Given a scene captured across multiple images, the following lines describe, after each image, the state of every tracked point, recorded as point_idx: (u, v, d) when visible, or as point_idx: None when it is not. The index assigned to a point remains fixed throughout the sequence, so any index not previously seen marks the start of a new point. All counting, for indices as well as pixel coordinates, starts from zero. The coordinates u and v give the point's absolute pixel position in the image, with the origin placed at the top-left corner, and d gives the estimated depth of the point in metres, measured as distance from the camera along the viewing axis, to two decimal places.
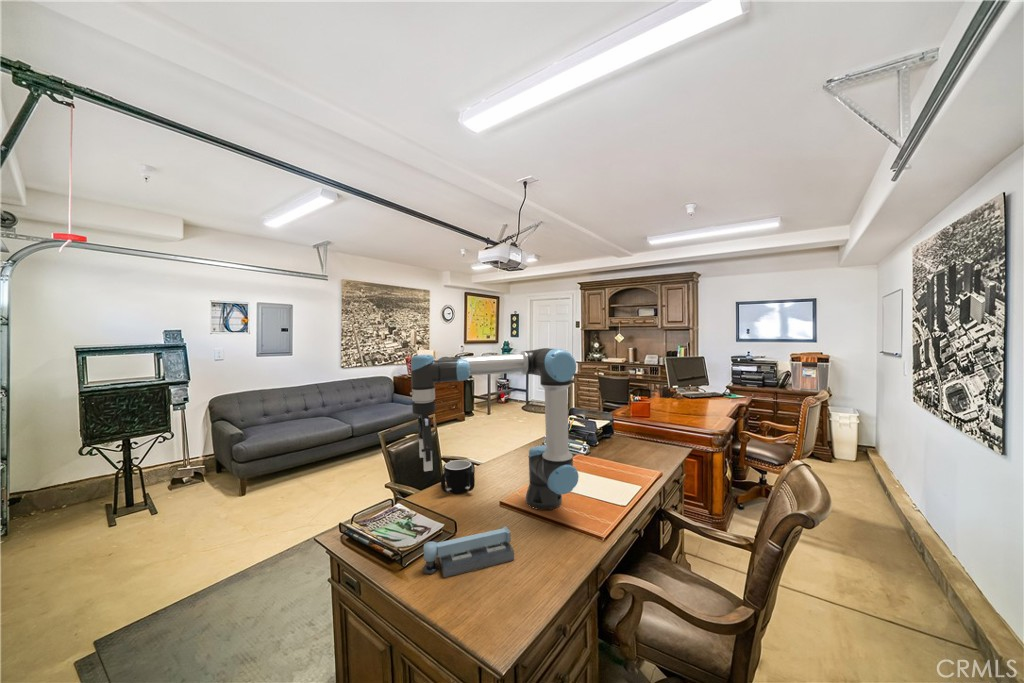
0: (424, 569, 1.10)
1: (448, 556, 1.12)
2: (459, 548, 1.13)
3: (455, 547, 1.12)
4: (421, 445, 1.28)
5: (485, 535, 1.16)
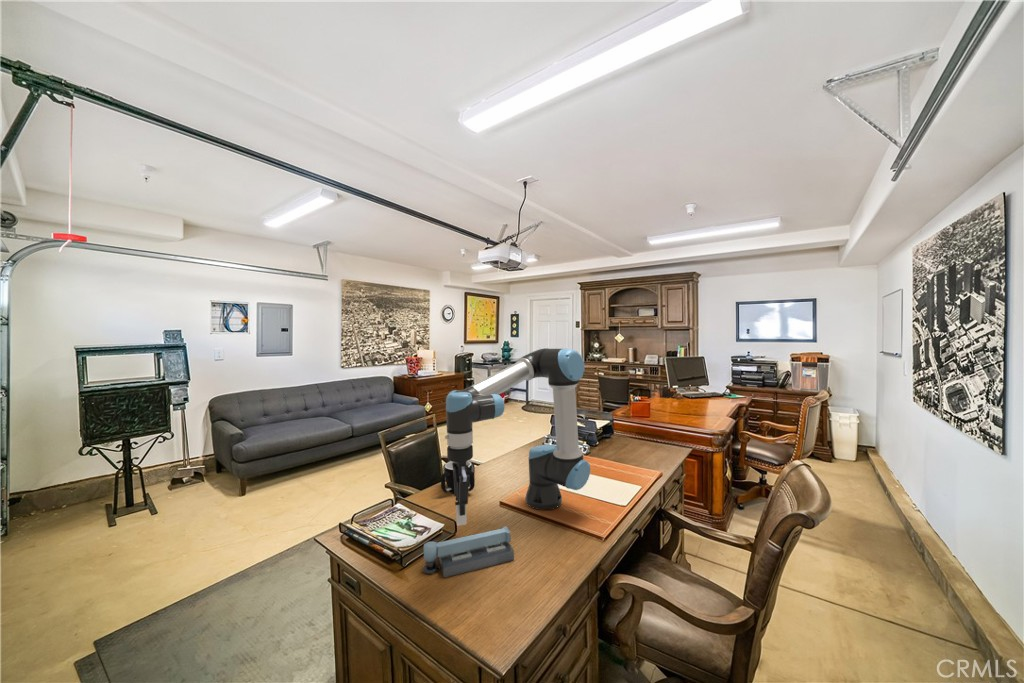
0: (424, 569, 1.10)
1: (448, 556, 1.12)
2: (459, 548, 1.13)
3: (455, 547, 1.12)
4: None
5: (485, 535, 1.16)
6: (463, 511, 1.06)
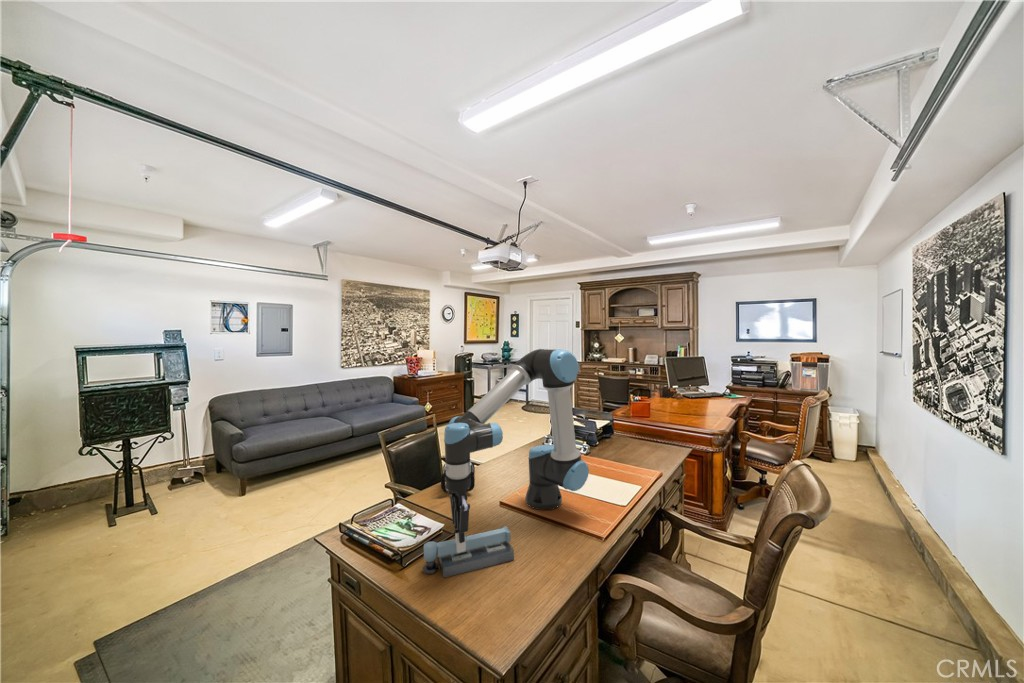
0: (424, 569, 1.10)
1: (448, 556, 1.12)
2: None
3: (455, 547, 1.12)
4: None
5: (485, 535, 1.16)
6: (463, 538, 1.10)
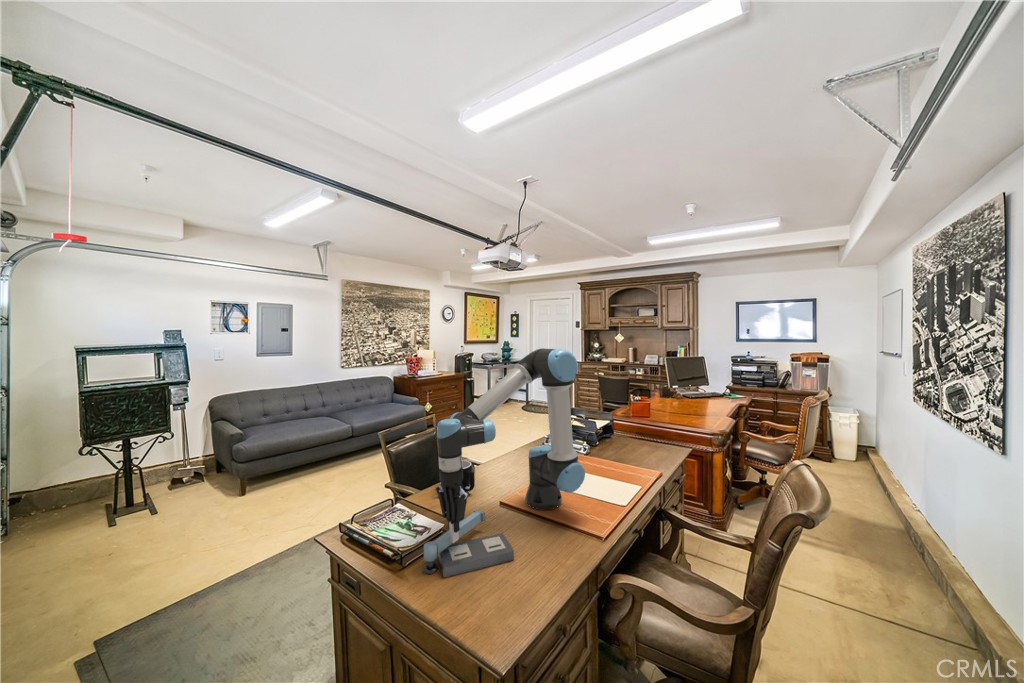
0: (424, 569, 1.10)
1: (448, 556, 1.12)
2: None
3: (449, 539, 1.16)
4: None
5: (467, 521, 1.25)
6: (458, 527, 1.16)
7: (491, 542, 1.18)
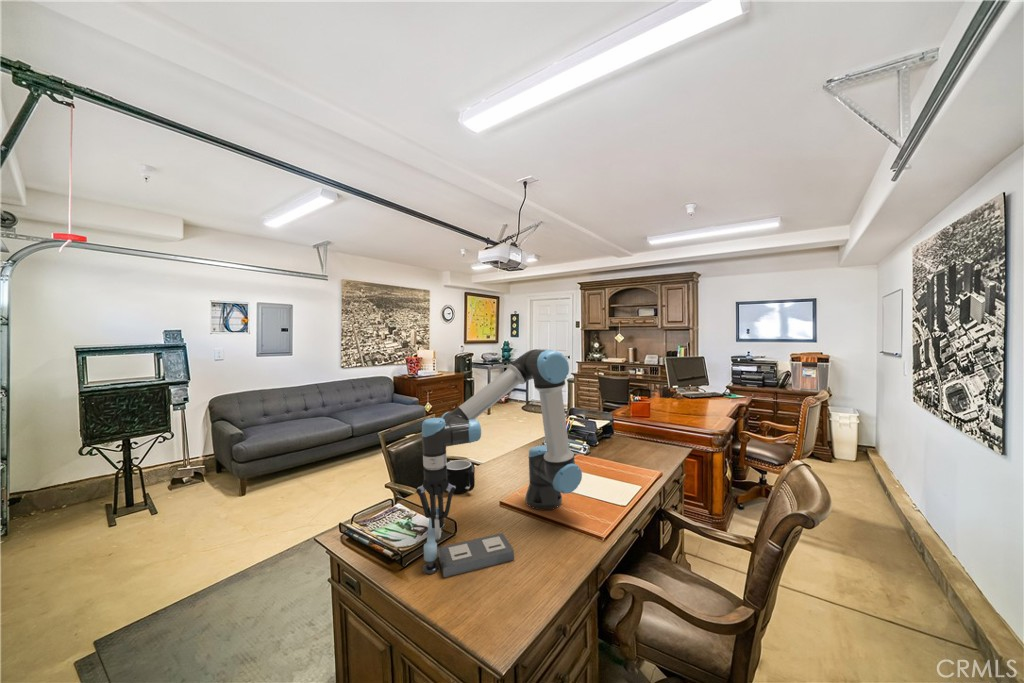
0: (424, 569, 1.10)
1: (448, 556, 1.12)
2: None
3: None
4: None
5: None
6: (443, 522, 1.20)
7: (491, 542, 1.18)
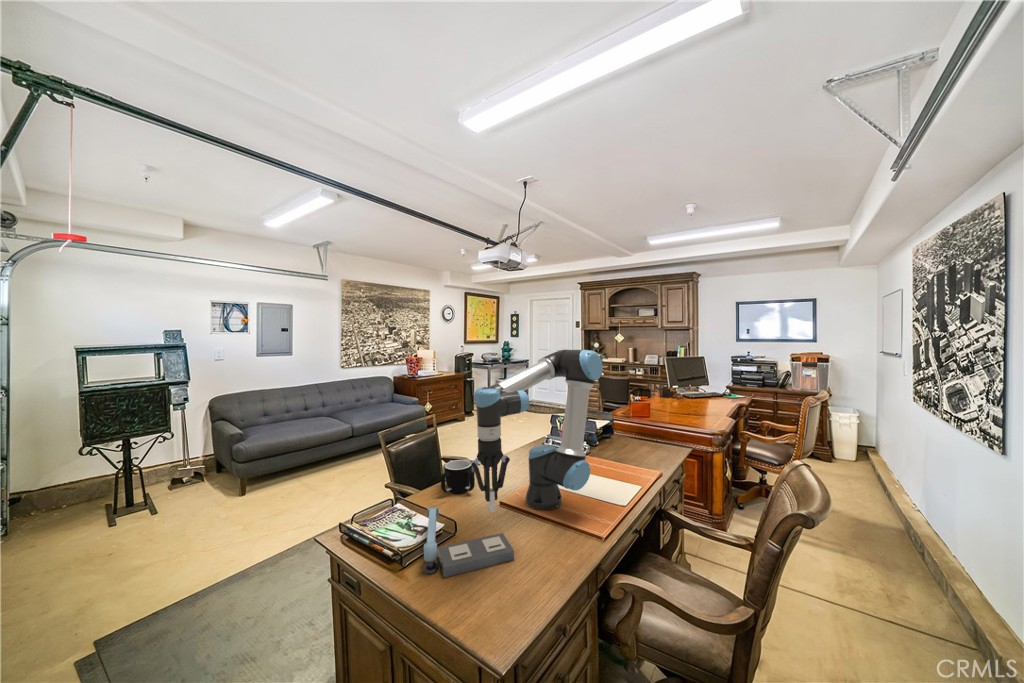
0: (424, 569, 1.10)
1: (448, 556, 1.12)
2: None
3: None
4: None
5: (434, 517, 1.28)
6: None
7: (491, 542, 1.18)
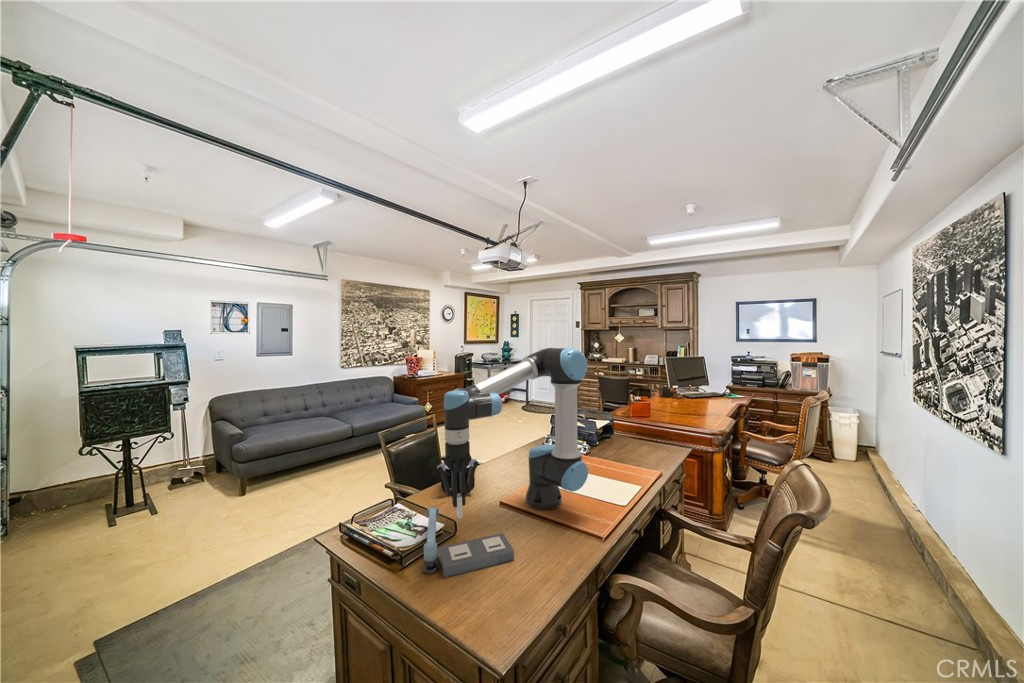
0: (424, 569, 1.10)
1: (448, 556, 1.12)
2: None
3: None
4: None
5: (434, 517, 1.28)
6: None
7: (491, 542, 1.18)
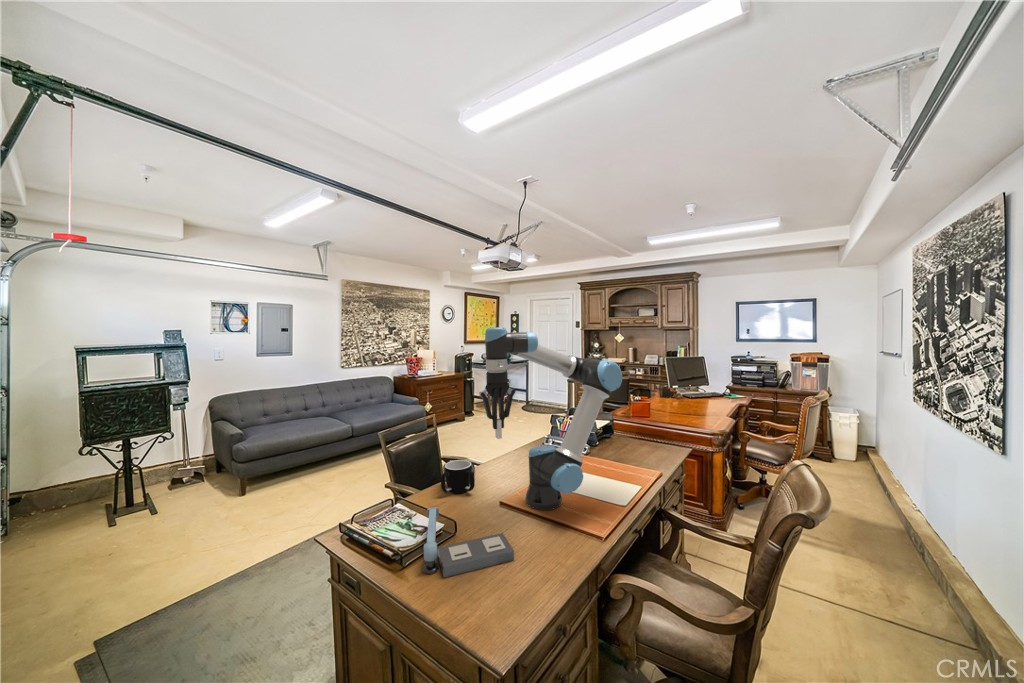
0: (424, 569, 1.10)
1: (448, 556, 1.12)
2: None
3: None
4: None
5: (434, 517, 1.28)
6: None
7: (491, 542, 1.18)
